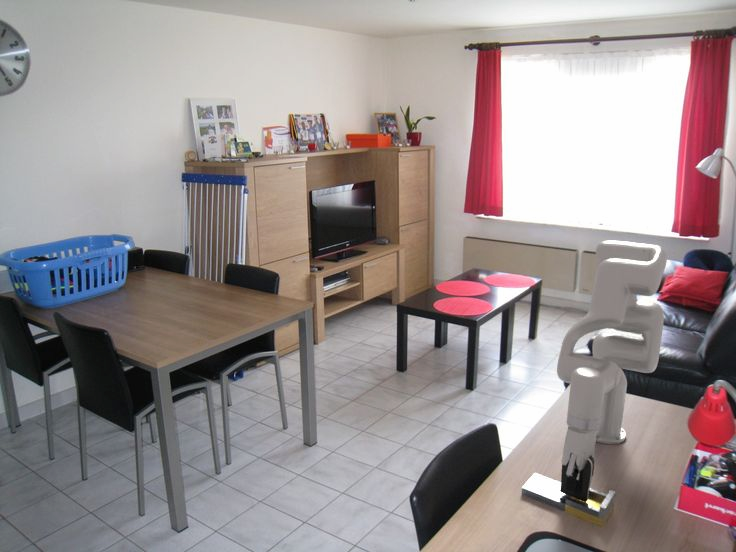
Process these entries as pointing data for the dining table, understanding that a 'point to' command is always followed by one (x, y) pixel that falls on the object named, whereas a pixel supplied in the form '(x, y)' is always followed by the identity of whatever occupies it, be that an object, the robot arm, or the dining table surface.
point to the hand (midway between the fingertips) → (576, 486)
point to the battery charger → (585, 482)
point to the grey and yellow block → (570, 499)
